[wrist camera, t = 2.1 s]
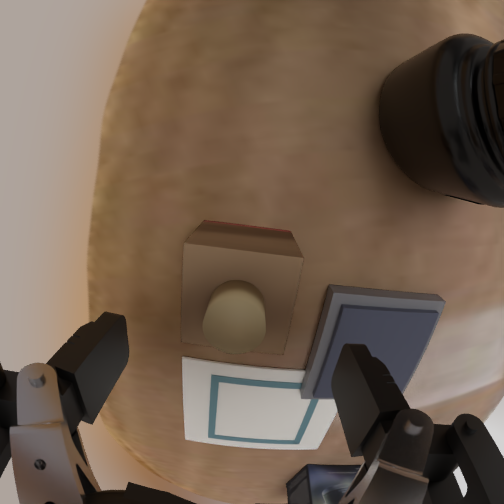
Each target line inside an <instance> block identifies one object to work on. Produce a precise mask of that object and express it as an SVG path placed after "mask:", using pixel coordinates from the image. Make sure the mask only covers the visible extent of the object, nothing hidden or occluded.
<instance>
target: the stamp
mask: <svg viewBox="0 0 504 504" xmlns="http://www.w3.org/2000/svg"><path fill="white" fill-rule="evenodd" d="M303 261H304V257H303V255H302V253H301V251H300V249H299V247H298V245H297V243H296V241H295V239H294V237H293V235H292V233H291V231H286V230H279V229H271V228H264V227H256V226H248V225H240V224H232V223H224V222H215V221H207V220H204V221H203V222H202V223H201V225H200V226H199V227H198V228H197V229H196V230H195V231H194V232H193V233H192V234H191V236H190V237H189V238H188V239H187V240H186V241H185V242H184V248H183V268H182V297H181V342H183V343H189V344H196V345H202V346H209V347H215V348H216V349H218V350H220V351H222V352H225V353H230V354H242V353H246V352H258V353H268V354H280V355H283V354H284V350H285V345H286V341H287V337H288V332H289V328H290V323H291V319H292V314H293V310H294V305H295V300H296V296H297V291H298V286H299V281H300V276H301V271H302V266H303Z"/></svg>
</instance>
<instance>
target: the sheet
mask: <svg viewBox="0 0 504 504" xmlns="http://www.w3.org/2000/svg"><path fill="white" fill-rule="evenodd" d="M305 373H306V370H299V369H283V368H270V367H259V366H249V365H240V364H232V363H224V362H217V361H210V360H203V359H197V358H191V357H185V356H183V357H182V378H183V407H184V427H185V439H186V440H191V441H197V442H204V443H210V444H218V445H226V446H235V447H246V448H260V449H286V450H305V449H318V447H319V445H320V443H321V442H322V440H323V438H324V436H325V434H326V432H327V431H328V429H329V427H330V425H331V423H332V421H333V419H334V417H335V415H336V413H337V411H338V410H337V407H336V403H335V400H334V399H301V395H300V389H301V386H302V382H303V379H304V376H305Z"/></svg>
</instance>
